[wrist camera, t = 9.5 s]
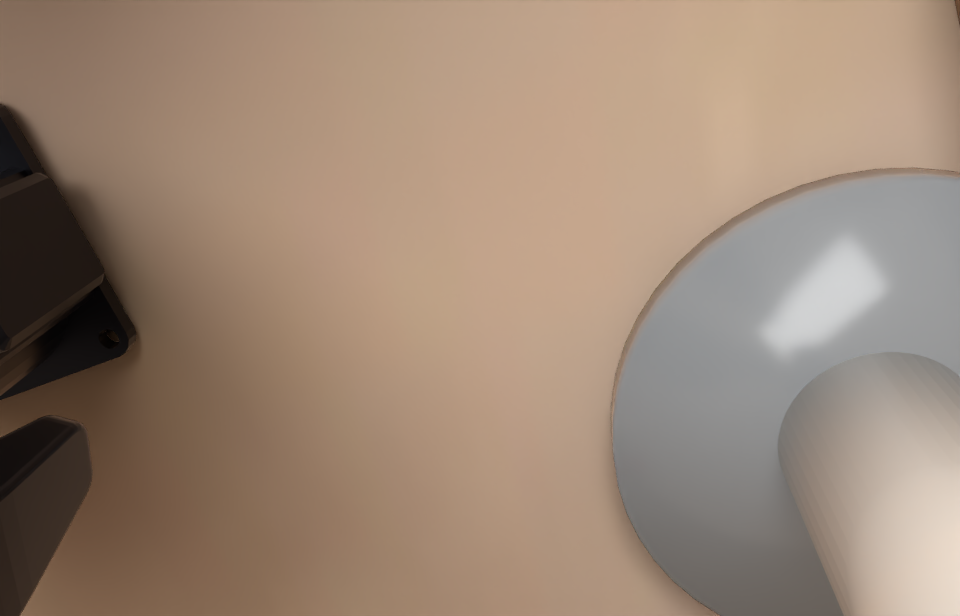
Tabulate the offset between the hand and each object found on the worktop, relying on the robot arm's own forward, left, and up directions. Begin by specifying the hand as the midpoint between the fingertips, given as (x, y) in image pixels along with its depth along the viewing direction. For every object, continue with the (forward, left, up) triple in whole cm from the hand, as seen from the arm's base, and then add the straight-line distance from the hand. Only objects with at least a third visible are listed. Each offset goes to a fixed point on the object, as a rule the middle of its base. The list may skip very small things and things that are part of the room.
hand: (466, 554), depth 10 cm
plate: (+6, -7, -11) cm, 15 cm away
